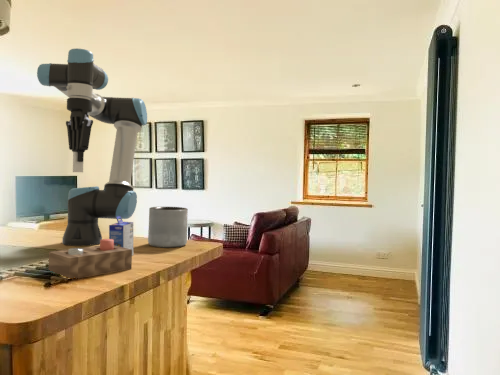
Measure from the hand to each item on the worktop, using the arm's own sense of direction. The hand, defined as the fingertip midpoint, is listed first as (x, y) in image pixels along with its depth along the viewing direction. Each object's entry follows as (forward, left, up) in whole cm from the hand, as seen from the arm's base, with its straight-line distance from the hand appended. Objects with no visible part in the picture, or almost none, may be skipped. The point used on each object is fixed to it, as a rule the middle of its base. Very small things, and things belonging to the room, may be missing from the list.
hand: (77, 172), depth 132 cm
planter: (-7, +44, -30) cm, 54 cm away
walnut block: (+13, -2, -29) cm, 32 cm away
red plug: (+13, +3, -26) cm, 29 cm away
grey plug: (+13, -7, -28) cm, 32 cm away
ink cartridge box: (+3, +15, -30) cm, 33 cm away
